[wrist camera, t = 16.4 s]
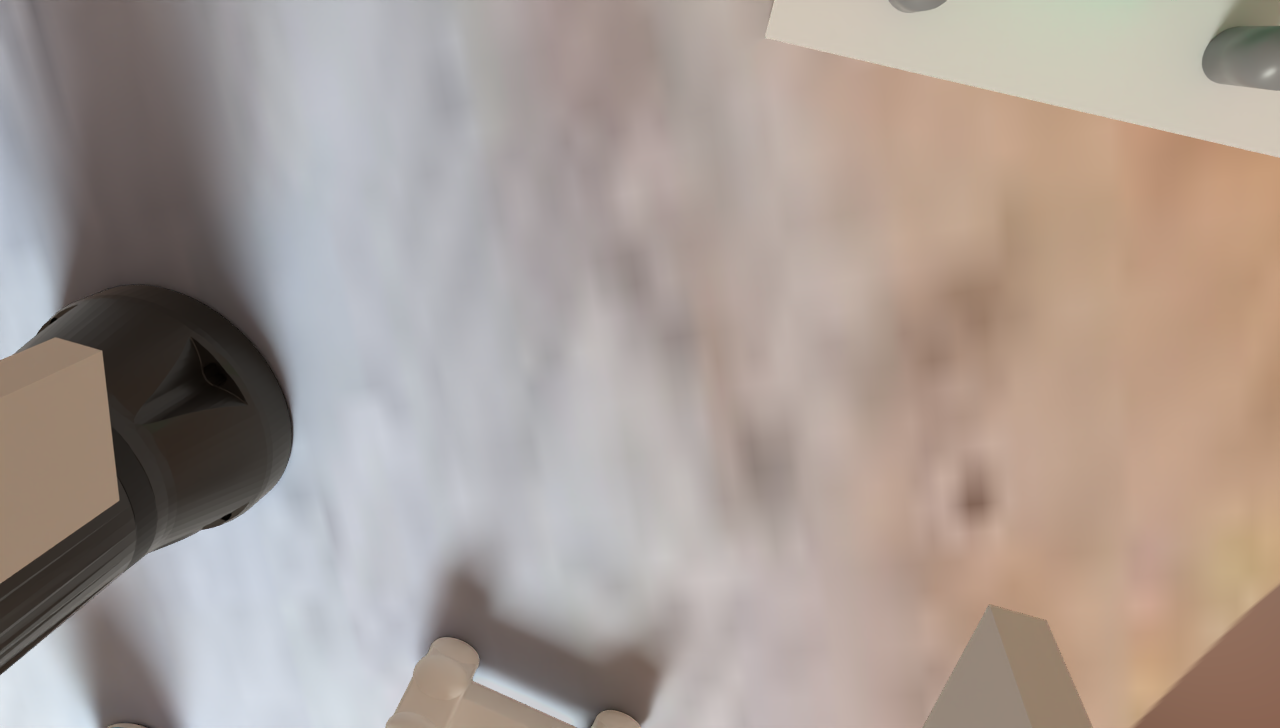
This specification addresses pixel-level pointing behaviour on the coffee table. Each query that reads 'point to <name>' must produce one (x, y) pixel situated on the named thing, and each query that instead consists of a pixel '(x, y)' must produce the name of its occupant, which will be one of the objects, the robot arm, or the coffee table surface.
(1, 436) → the robot arm
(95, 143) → the coffee table surface
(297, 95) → the coffee table surface
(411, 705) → the dog bone
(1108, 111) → the stub plate
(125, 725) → the beverage bottle
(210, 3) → the coffee table surface
